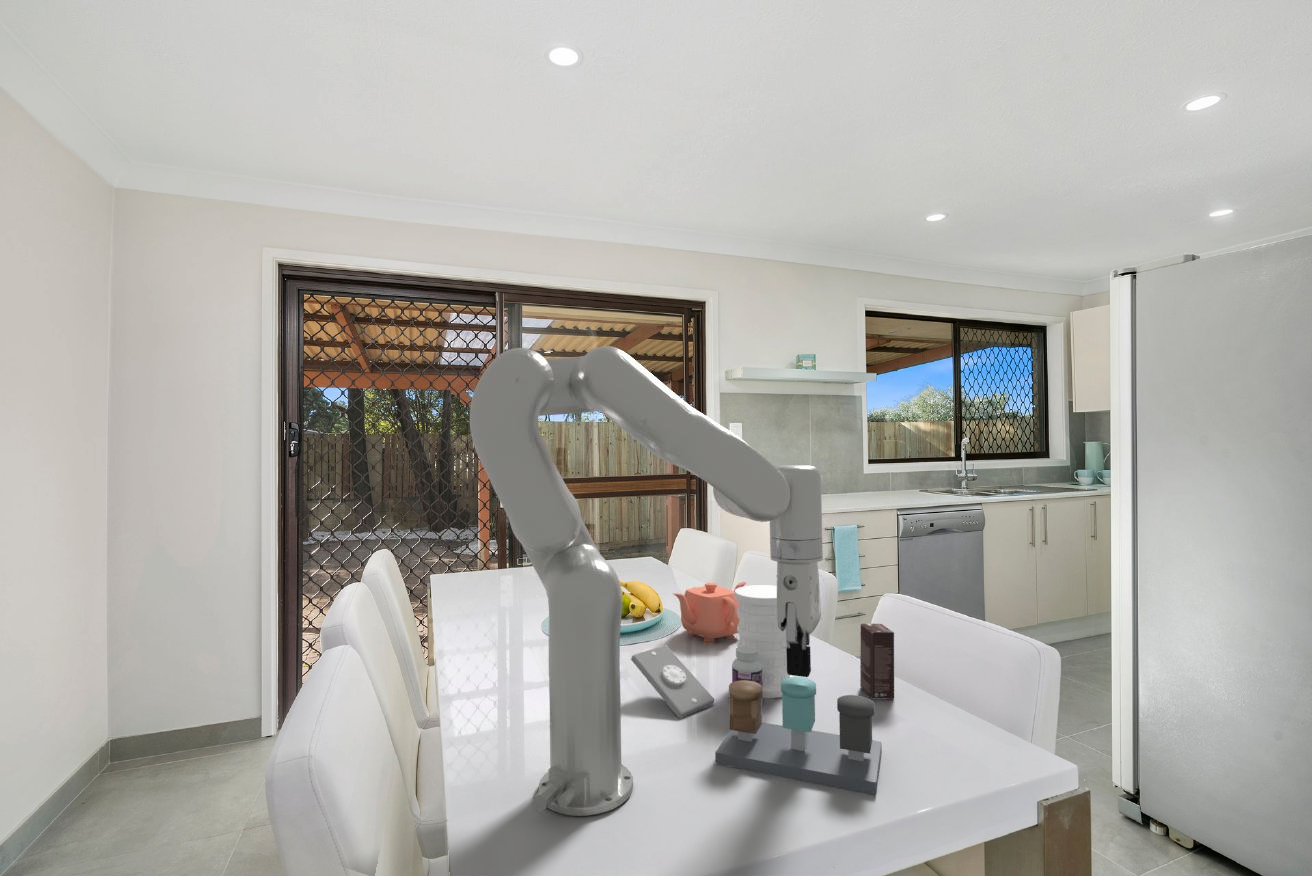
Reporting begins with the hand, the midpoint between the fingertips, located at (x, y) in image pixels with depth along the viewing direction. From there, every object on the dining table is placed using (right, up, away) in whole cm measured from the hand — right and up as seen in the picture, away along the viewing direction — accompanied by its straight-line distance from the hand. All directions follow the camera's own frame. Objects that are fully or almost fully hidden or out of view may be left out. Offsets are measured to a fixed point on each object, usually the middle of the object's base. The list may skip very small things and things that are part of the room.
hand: (798, 673), depth 92 cm
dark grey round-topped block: (+7, -9, -3) cm, 12 cm away
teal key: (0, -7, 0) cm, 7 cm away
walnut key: (-7, -9, +3) cm, 12 cm away
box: (+20, -12, +23) cm, 33 cm away
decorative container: (0, -13, +27) cm, 30 cm away
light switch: (-18, -13, +21) cm, 31 cm away
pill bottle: (-5, -13, +19) cm, 24 cm away
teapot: (-8, -13, +59) cm, 61 cm away
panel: (0, -12, 0) cm, 12 cm away
